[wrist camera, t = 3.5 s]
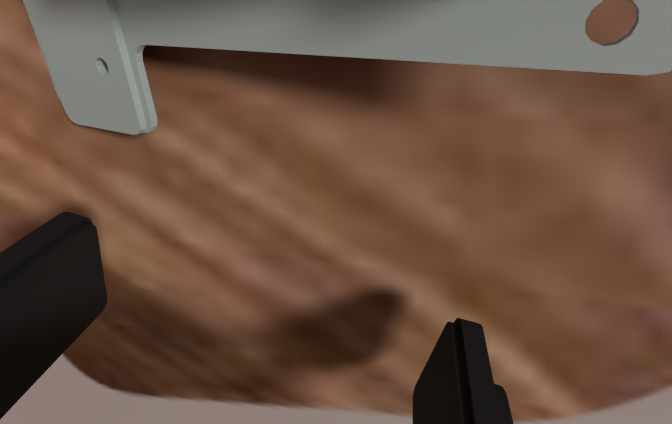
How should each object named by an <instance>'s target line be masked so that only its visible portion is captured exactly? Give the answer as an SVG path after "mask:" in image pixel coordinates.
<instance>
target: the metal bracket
mask: <svg viewBox="0 0 672 424" xmlns="http://www.w3.org/2000/svg"><path fill="white" fill-rule="evenodd" d="M602 1H603V0H23V2H24V4H25V7H26V10H27V13H28V15H29V18H30V21H31V24H32V26H33V29H34V32H35V35H36V37H37V40H38V43H39V46H40V48H41V51H42V54H43V57H44V60H45V62H46V65H47V68H48V71H49V73H50V76H51V79H52V82H53V84H54V87H55V90H56V93H57V95H58V98H59V99H60V101H61V102H62V104H63V107H64V109H65V112H66V114H67V116H68V118H69V119H70V120H71V121H72V122H74V123H75V124H78V125H84V126H89V127H94V128H100V129H105V130H110V131H115V132H121V133H126V134H131V135H137V134H140V133H148V132H151V131H154V130H155V129H156V127H157V116H156V112H155V108H154V103H153V99H152V95H151V91H150V87H149V83H148V79H147V75H146V71H145V67H144V63H143V54H142V52H143V50H144V47H145V46H146V45H156V46H172V47H189V48H205V49H222V50H238V51H255V52H271V53H288V54H304V55H321V56H337V57H353V58H370V59H386V60H403V61H419V62H436V63H452V64H469V65H485V66H502V67H518V68H534V69H551V70H567V71H584V72H600V73H617V74H633V75H654V74H660V73H667V72H669V71H671V70H672V0H631V1H632V3H633V4H634V5H635V7H636V8H637V17H636V23H635V24H634V26H633V27H632V29H631V31H630V32H629V34H627V35H626V36H624V37H623V38H621V39H620V40H619V41H617V42H614V43H609V44H604V45H602V44H599V43H596V42H592V41H591V40H590V39H589V37H588V36H587V35H586V33H585V21H586V19H587V17H588V16H589V14H590V12H591V10H592V9H593V8H594V7H595V6H597V5H598V4H599V3H601V2H602Z"/></svg>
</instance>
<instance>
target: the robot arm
mask: <svg viewBox="0 0 672 424" xmlns="http://www.w3.org/2000/svg"><path fill="white" fill-rule="evenodd" d="M106 303H107V294H106V288H105V281H104V275H103V268H102V261H101V255H100V248H99V241H98V235H97V229H96V227H95V226H94V225H93V224H92V221H91V220H90V219H89V218H87V217H83V216H80V215H76V214H72V213H69V212H63V213H61V214H59V215H57V216H56V217H54V218H53V219H51V220H50V221H48V222H47V223H45V224H44V225H42V226H40V227H39V228H37V229H36V230H34V231H33V232H31V233H30V234H28V235H27V236H25V237H24V238H22V239H21V240H19V241H18V242H16V243H15V244H13V245H11V246H10V247H8V248H7V249H5V250H4V251H2V252H1V253H0V419H1V418H2V417H3V416H4V415H5V414H6V412H7V411H8V410H9V409H10V408H11V407H12V406H13V405H14V404H15V403H16V402H17V401H18V400H19V399H20V398H21V397H22V396H23V395H24V394H25V392H26V391H27V390H28V389H29V388H30V387H31V386H32V385H33V384H34V383H35V382H36V381H37V379H39V378H40V377H41V375H42V374H43V373H44V372H45V371H46V370H47V369H48V368H49V367H50V366H51V365H52V364H53V363H54V362H55V361H56V360H57V359H58V357H60V355H61V354H62V353H63V352H64V351H65V350H66V349H67V348H68V347H69V346H70V345H71V344H72V343H73V342H74V341H75V340H76V339H77V337H78V336H79V335H80V334H81V333H82V332H83V331H84V330H85V329H86V328H87V327H88V326H89V325H90V324H91V323H92V322H93V321H94V320H95V318H96V317H97V316H98V315H99V314H100V313H101V312H102V311H103V309H104V308H105V305H106ZM413 424H513V420H512V416H511V412H510V407H509V403H508V398H507V395H506V392H505V390H504V389H503V387H502V386H499V385H496V384H494V382H493V377H492V372H491V367H490V362H489V357H488V352H487V347H486V342H485V337H484V332H483V328H482V325H481V324H478V323H475V322H471V321H467V320H464V319H460V318H457V319H456V320H455V322H454V323H452V322H447V324H446V325H445V327H444V329H443V331H442V333H441V335H440V337H439V339H438V341H437V343H436V345H435V347H434V349H433V351H432V353H431V355H430V357H429V359H428V361H427V363H426V365H425V367H424V369H423V371H422V373H421V375H420V377H419V379H418V381H417V383H416V386H415V389H414V394H413Z"/></svg>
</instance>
